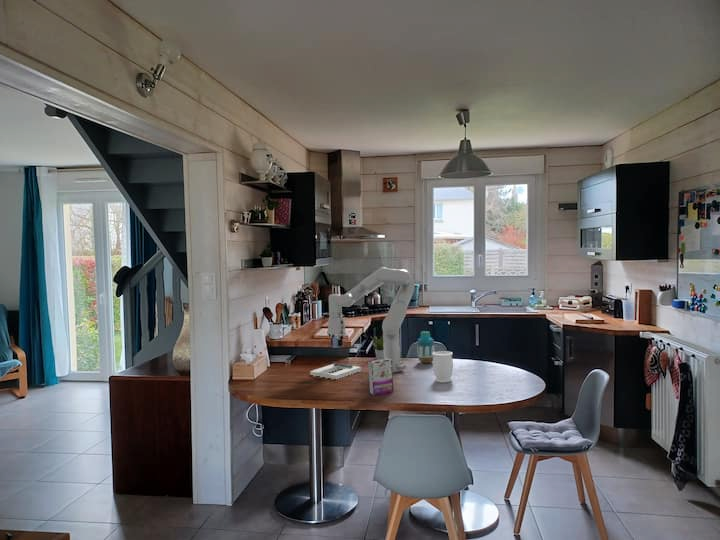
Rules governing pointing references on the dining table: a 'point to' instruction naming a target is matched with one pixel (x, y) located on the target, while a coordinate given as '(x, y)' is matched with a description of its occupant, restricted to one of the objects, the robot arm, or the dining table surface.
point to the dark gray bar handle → (343, 365)
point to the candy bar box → (380, 376)
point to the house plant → (379, 348)
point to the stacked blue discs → (335, 342)
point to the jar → (443, 366)
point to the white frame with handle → (336, 375)
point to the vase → (425, 347)
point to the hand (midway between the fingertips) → (336, 345)
